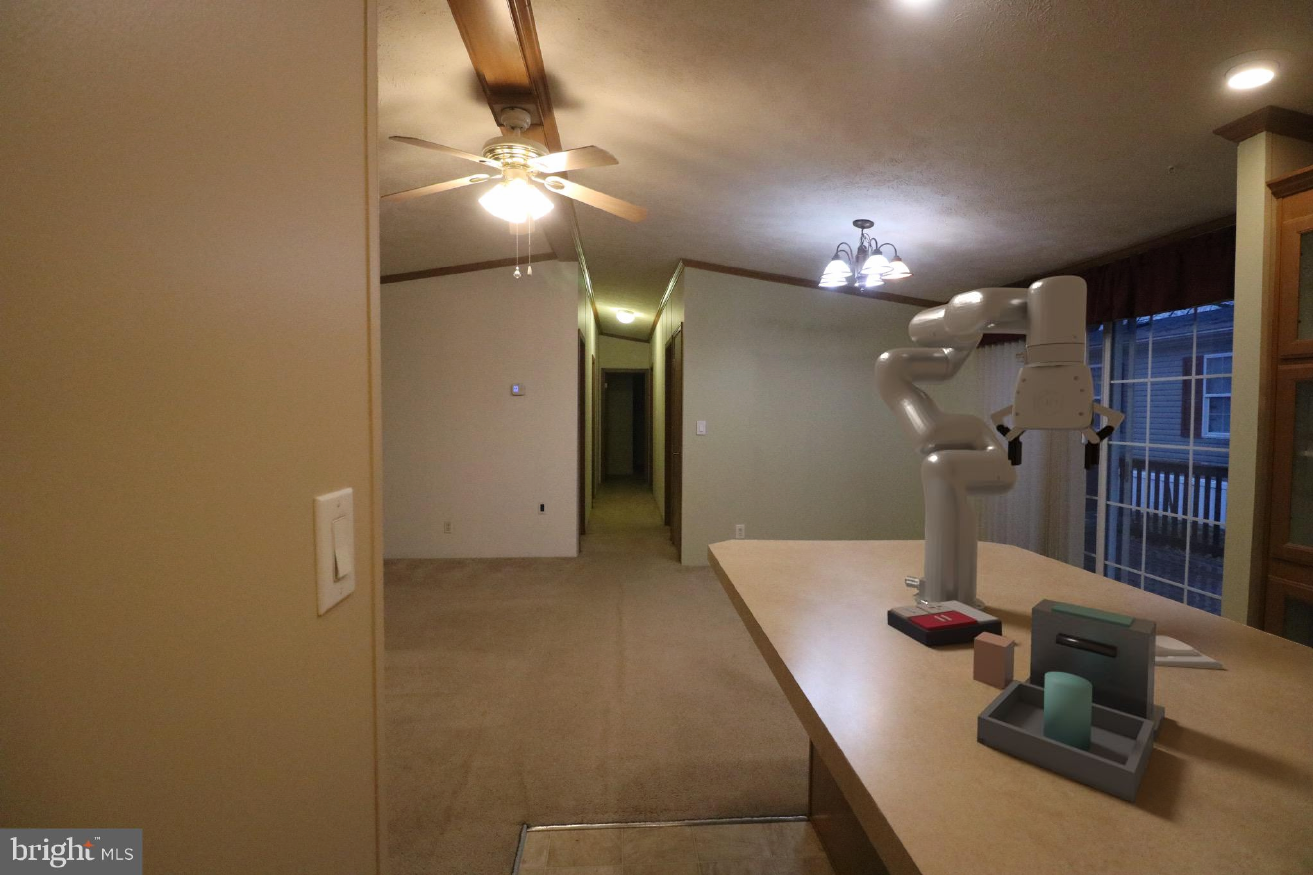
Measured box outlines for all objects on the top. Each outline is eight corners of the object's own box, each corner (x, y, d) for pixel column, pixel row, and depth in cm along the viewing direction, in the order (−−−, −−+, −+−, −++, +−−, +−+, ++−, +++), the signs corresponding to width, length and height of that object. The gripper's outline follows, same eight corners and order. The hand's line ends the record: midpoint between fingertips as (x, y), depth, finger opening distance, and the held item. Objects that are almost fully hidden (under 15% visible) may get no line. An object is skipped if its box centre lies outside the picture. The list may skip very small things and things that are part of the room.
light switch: (1086, 620, 97) (1169, 621, 95) (1087, 644, 97) (1170, 645, 95) (1129, 645, 87) (1223, 646, 85) (1130, 672, 87) (1224, 673, 85)
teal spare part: (1038, 738, 65) (1040, 679, 64) (1049, 725, 68) (1050, 668, 67) (1085, 755, 61) (1087, 693, 61) (1094, 740, 64) (1096, 681, 64)
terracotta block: (973, 679, 81) (974, 638, 81) (982, 671, 84) (984, 631, 83) (1004, 689, 78) (1005, 646, 78) (1013, 680, 81) (1014, 639, 80)
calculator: (885, 606, 103) (955, 596, 106) (886, 629, 103) (956, 619, 106) (927, 627, 92) (1003, 616, 95) (927, 653, 92) (1003, 641, 96)
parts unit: (1018, 696, 76) (1020, 605, 75) (1035, 678, 81) (1037, 593, 81) (1155, 741, 65) (1159, 635, 65) (1164, 716, 71) (1168, 619, 70)
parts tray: (976, 741, 65) (977, 716, 65) (1014, 701, 75) (1014, 679, 74) (1133, 802, 55) (1134, 772, 55) (1153, 747, 64) (1154, 721, 64)
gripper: (985, 360, 91) (982, 465, 92) (1121, 351, 78) (1117, 472, 79) (1000, 364, 96) (997, 462, 97) (1130, 355, 83) (1126, 469, 84)
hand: (1051, 467), depth 88 cm, fingers open, 9 cm apart
